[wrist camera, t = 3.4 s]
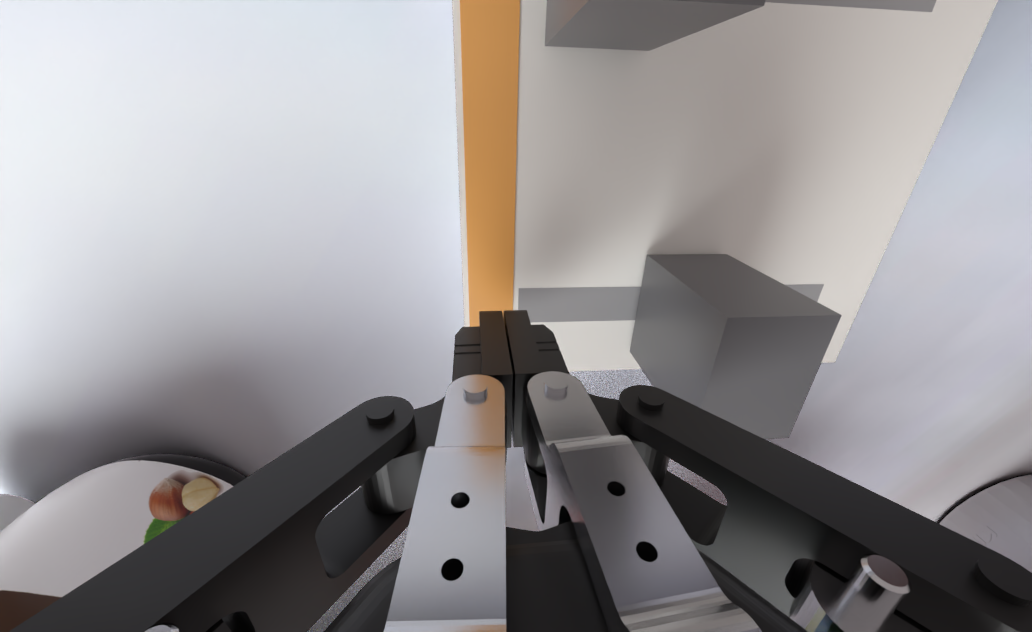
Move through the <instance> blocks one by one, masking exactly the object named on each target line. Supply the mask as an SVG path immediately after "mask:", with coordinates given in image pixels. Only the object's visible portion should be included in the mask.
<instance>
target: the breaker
mask: <svg viewBox="0 0 1032 632" xmlns="http://www.w3.org/2000/svg"><path fill="white" fill-rule="evenodd" d="M764 5H765V0H547V8H546V29H545V46H553V47H575V48H597V49H618V50H640V51H650V50H653V49H655V48H658V47H660V46H663V45H665V44H668V43H671V42H673V41H676V40H678V39H681V38H683V37H686V36H688V35H691V34H693V33H696V32H699V31H701V30H704V29H706V28H709V27H711V26H714V25H716V24H719V23H722V22H724V21H727V20H729V19H732V18H734V17H737V16H739V15H742V14H744V13H747V12H750V11H752V10H755V9H757V8H760V7H762V6H764Z"/></svg>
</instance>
